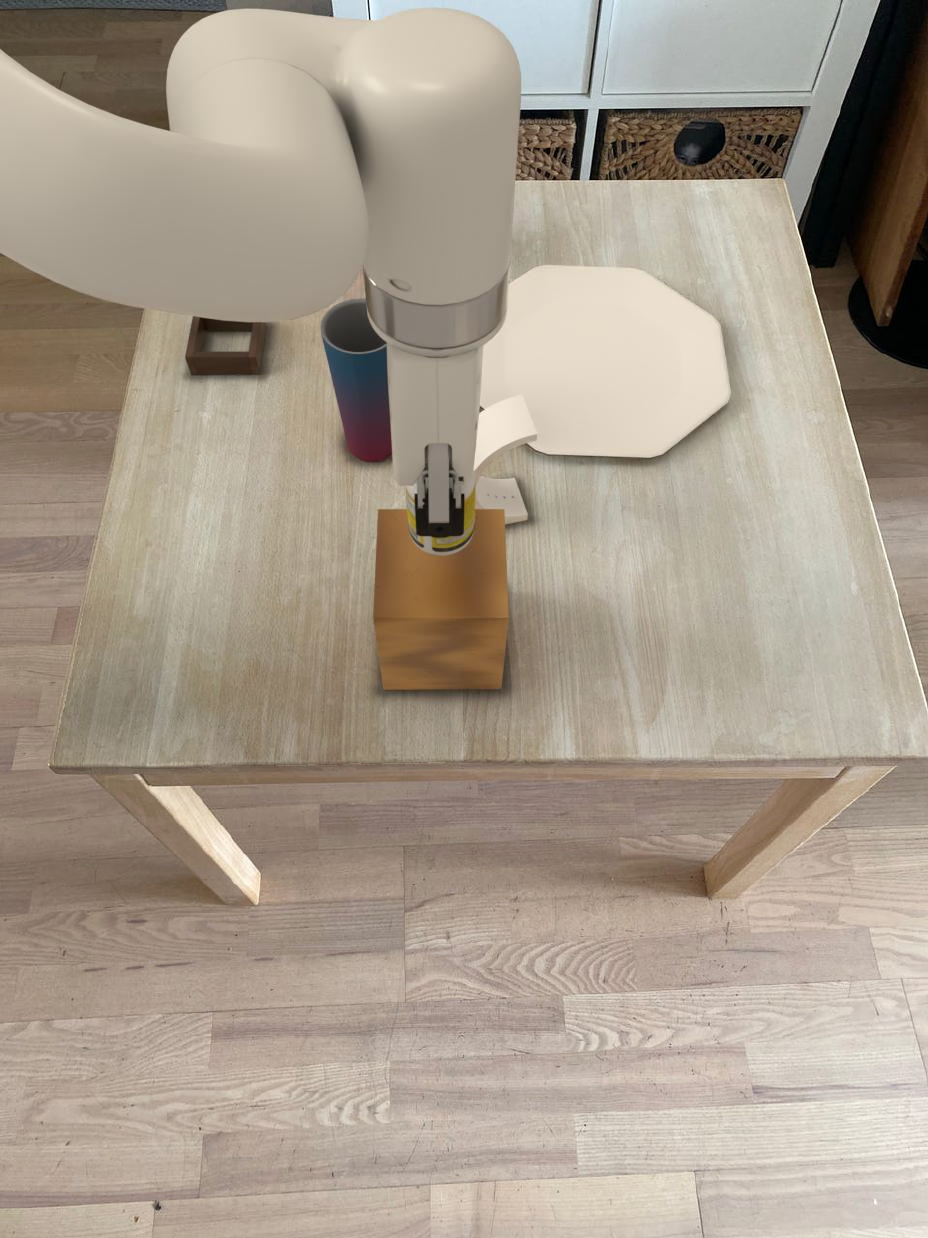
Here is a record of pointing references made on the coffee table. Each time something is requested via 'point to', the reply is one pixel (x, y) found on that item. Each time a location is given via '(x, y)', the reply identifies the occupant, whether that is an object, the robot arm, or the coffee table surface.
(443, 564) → the block
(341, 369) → the cup
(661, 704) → the coffee table surface
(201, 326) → the holder
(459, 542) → the supplement bottle
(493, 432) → the headphone stand
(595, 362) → the plate
